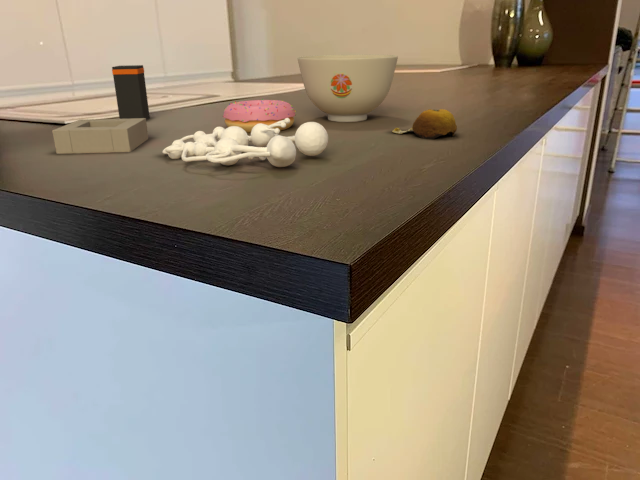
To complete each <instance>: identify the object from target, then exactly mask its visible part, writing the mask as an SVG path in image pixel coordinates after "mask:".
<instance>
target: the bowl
mask: <svg viewBox="0 0 640 480" xmlns="http://www.w3.org/2000/svg"><path fill="white" fill-rule="evenodd" d="M398 59H399V56H398V55H394V54H331V55H330V54H328V55H327V54H326V55H306V56H305V55H304V56H298V57H297V63H298V68H299V71H300V76H301V79H302V83H303V87H304V90H305V93H306V95H307V97H308V99H309V100H310V101H311V102H312V104H313V105H314V106H315V107H316V108H317V109H319V110H320V111H322V112H323V113H325V114H327V120H328V121H329V122H335V123H337V122H338V123H356V122H363V121H366V120H368V114H369V113H370V112H372V111H374V110H376V109H377V108H378V107H379V106H380V105H381V104H382V103H383V102H384V101H385V100H386V98H387V96H388V94H389V92H390V89H391V86H392V83H393V80H394V75H395V72H396V67H397V64H398Z"/></svg>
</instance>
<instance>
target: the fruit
mask: <svg viewBox="0 0 640 480" xmlns="http://www.w3.org/2000/svg"><path fill="white" fill-rule="evenodd" d="M457 130H458V126H457V123H456V119H455V116H454V115H453V114H452V112H451V111H450V110H447V109H444V108H440V109H432V108H430V109H426V110H423V111H422V112H421V113H420V114H419V115H418V116H417V117H416V119H415V120H414V121H413V123H412V127H410V128H409V129H407V130H402V129H400V127H395V128H393V130H391V131H392V133H394V134H398V135H399V134H400V135H401V134H405V133H408V132H410V131H412V132H413V133H414V134H415V135H416V136H417V137H419V138H420V139H423V140H435V139H436V138H438V137H440V136H445V135H452V136H455V134H456V132H457Z"/></svg>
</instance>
